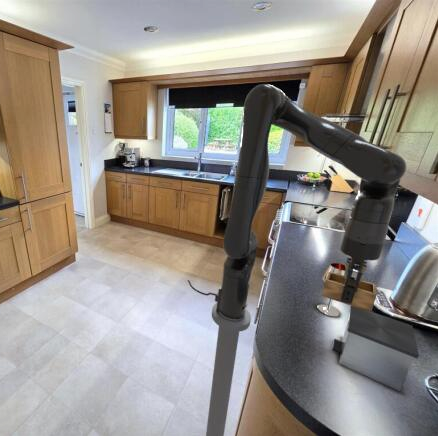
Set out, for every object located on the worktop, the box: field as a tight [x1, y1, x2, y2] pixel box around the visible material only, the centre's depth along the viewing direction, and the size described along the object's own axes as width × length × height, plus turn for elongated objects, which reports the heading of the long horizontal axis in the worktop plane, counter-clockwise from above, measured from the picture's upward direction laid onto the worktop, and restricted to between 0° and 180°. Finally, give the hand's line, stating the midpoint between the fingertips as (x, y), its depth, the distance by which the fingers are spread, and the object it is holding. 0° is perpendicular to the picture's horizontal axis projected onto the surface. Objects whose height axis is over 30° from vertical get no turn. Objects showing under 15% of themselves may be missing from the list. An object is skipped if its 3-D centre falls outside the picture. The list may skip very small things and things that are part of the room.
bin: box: [331, 305, 420, 392], centre depth 66 cm, size 14×13×12 cm
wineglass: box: [317, 262, 346, 318], centre depth 85 cm, size 8×8×18 cm
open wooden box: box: [321, 272, 378, 312], centre depth 64 cm, size 10×6×5 cm, turn 48°
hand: (347, 295), depth 64 cm, fingers closed on open wooden box, 6 cm apart
